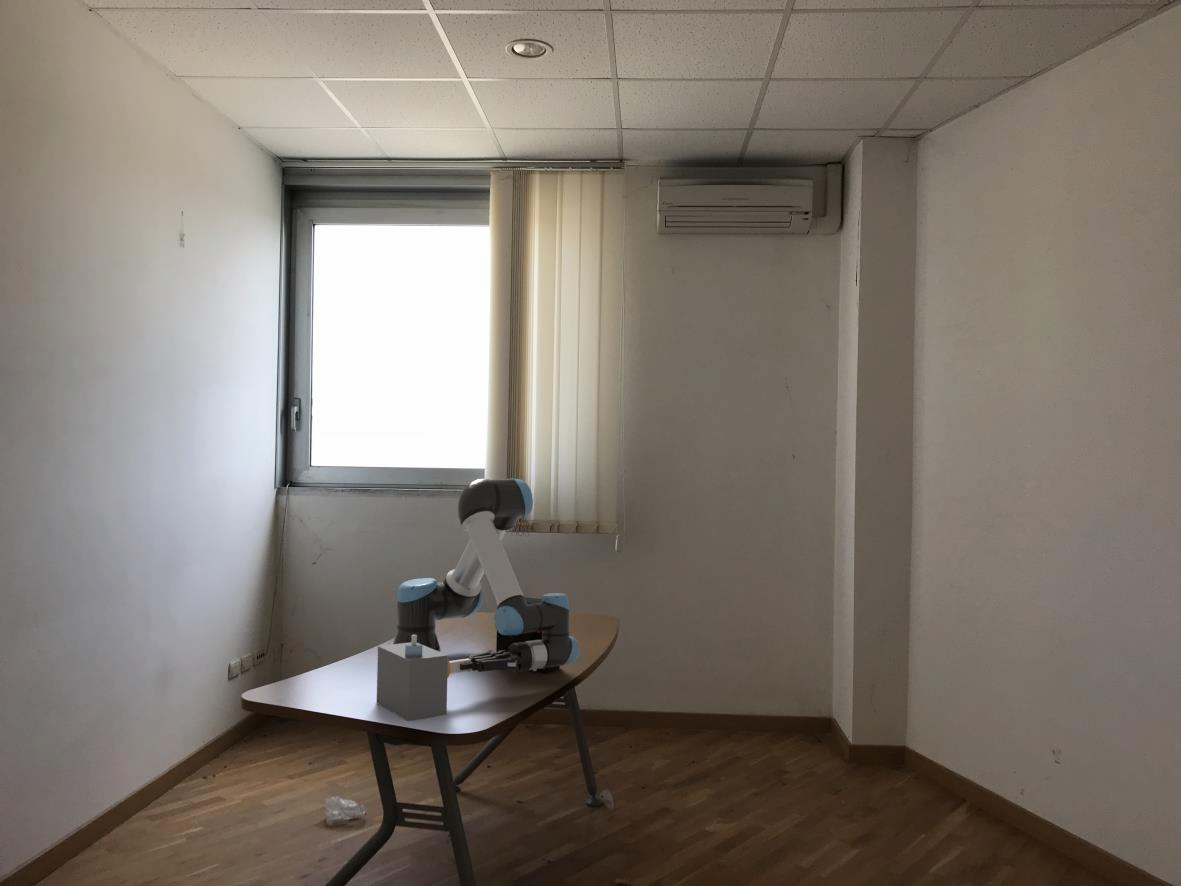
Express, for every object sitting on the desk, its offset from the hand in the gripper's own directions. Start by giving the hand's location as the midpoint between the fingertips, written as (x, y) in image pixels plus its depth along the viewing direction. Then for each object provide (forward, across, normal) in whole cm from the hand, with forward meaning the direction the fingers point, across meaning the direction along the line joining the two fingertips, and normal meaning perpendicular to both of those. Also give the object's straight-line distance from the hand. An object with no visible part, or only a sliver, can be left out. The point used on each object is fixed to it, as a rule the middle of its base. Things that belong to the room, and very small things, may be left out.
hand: (446, 667), depth 217 cm
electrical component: (-38, +20, -9) cm, 44 cm away
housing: (+9, +1, -9) cm, 13 cm away
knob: (+4, +1, -3) cm, 5 cm away
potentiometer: (+11, -4, +5) cm, 13 cm away
